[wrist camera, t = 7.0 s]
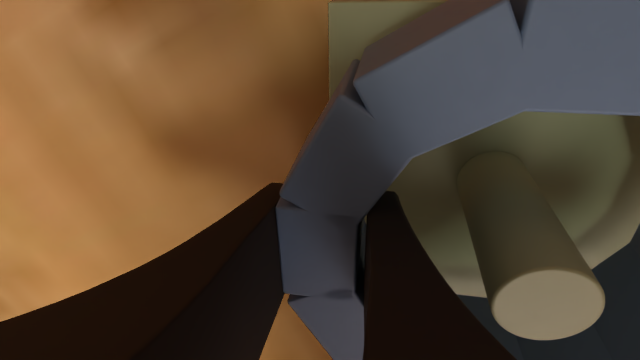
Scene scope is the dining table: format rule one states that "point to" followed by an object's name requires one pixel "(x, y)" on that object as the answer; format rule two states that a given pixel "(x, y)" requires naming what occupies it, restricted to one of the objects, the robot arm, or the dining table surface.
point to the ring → (442, 128)
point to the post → (512, 195)
